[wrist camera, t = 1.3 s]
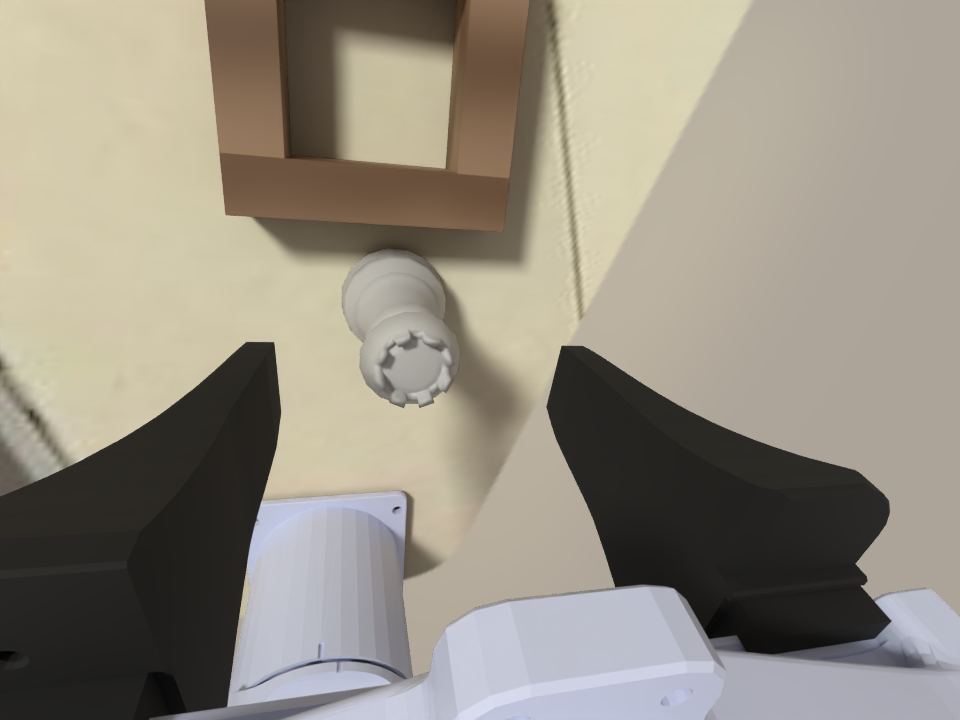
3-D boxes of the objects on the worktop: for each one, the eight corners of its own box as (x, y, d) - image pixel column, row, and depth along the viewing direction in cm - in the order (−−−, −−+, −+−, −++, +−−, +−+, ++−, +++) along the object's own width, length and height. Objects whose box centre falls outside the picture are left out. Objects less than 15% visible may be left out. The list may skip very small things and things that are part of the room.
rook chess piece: (462, 286, 23) (513, 356, 16) (401, 360, 24) (425, 457, 17) (382, 223, 21) (401, 271, 14) (319, 305, 22) (308, 389, 15)
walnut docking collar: (487, 221, 22) (503, 231, 20) (239, 205, 20) (225, 215, 17) (515, -62, 18) (539, -89, 16) (210, -129, 16) (187, -171, 13)
